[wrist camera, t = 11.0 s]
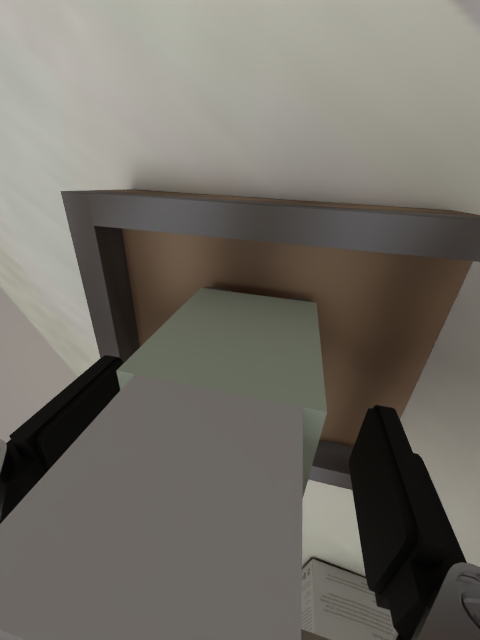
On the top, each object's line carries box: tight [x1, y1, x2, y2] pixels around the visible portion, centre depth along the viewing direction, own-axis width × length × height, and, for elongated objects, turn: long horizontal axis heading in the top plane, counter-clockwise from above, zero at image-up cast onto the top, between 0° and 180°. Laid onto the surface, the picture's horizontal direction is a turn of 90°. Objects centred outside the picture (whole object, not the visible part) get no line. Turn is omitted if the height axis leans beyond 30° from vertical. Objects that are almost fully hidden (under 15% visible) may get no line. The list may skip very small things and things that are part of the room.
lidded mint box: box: [0, 287, 327, 640], centre depth 9 cm, size 5×7×11 cm
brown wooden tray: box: [61, 189, 480, 490], centre depth 14 cm, size 16×14×5 cm
